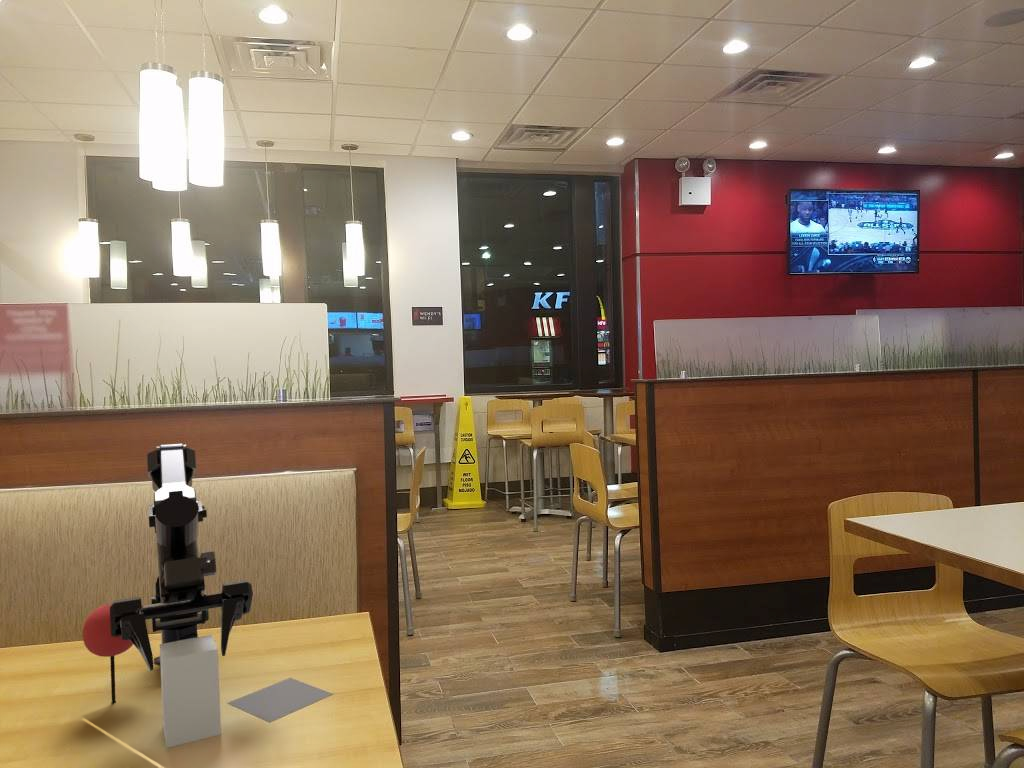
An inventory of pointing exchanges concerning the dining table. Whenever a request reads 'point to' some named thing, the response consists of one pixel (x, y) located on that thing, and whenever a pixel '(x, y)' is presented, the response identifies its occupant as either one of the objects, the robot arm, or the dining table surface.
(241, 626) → the dining table surface
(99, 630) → the lollipop
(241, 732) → the dining table surface
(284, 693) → the mat
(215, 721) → the cover
